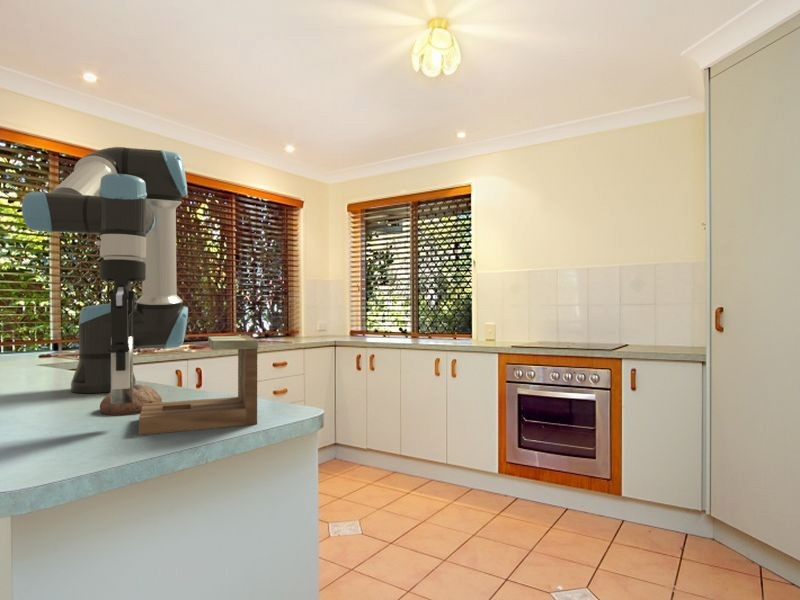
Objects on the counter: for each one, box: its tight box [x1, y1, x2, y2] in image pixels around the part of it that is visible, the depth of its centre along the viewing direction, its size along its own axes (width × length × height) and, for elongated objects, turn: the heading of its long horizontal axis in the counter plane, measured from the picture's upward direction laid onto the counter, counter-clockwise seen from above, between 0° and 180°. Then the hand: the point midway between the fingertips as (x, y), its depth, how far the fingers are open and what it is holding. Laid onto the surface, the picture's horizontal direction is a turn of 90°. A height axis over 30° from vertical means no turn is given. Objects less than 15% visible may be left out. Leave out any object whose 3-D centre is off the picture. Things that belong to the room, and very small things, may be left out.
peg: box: [110, 336, 134, 404], centre depth 93 cm, size 4×4×12 cm
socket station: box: [138, 335, 259, 436], centre depth 99 cm, size 16×20×16 cm
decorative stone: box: [99, 384, 163, 416], centre depth 110 cm, size 12×12×6 cm
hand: (122, 386), depth 93 cm, fingers closed on peg, 3 cm apart
